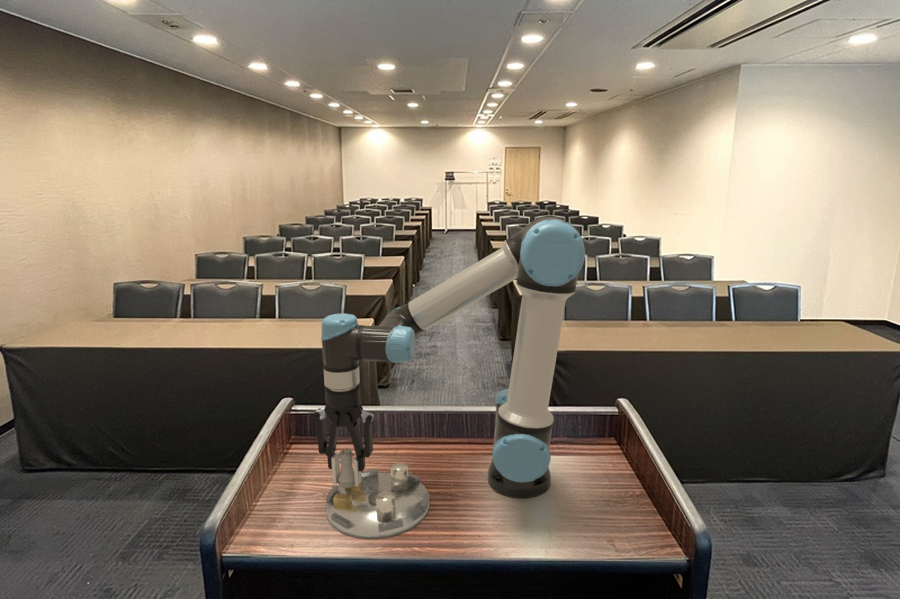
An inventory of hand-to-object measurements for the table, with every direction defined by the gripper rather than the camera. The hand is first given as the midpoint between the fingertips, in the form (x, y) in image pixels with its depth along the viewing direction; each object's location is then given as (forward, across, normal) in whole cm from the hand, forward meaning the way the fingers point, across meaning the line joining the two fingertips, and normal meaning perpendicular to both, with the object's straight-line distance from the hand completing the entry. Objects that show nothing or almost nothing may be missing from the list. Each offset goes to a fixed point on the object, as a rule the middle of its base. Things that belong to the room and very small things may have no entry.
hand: (347, 481), depth 125 cm
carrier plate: (+5, -7, 0) cm, 9 cm away
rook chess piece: (+1, 0, 0) cm, 1 cm away
